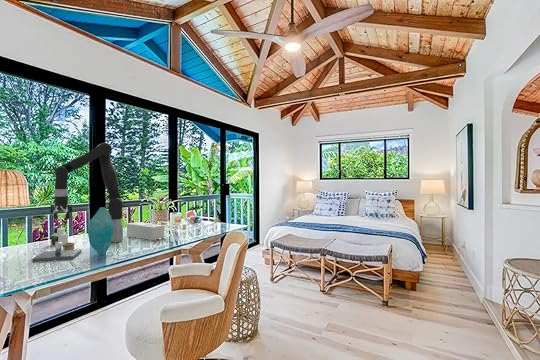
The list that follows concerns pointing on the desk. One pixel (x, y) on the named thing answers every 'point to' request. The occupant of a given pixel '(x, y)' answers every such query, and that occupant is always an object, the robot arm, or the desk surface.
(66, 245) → the bronze ring
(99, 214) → the crystal
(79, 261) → the desk surface
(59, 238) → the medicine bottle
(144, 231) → the light grey long block
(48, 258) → the piston stand
